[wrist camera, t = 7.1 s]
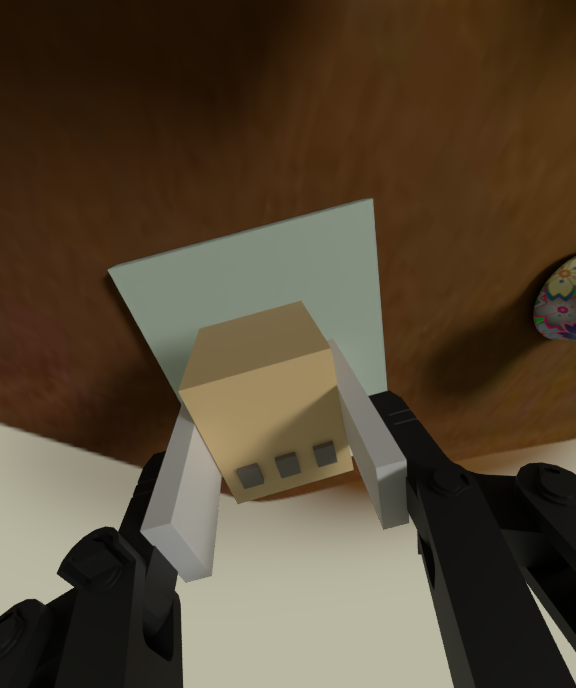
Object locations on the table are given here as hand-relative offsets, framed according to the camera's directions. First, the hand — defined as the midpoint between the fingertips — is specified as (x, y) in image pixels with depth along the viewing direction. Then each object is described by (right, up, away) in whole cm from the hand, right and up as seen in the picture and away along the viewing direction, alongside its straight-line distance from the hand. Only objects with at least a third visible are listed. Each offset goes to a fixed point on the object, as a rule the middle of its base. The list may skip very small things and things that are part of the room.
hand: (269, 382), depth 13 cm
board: (0, +1, +11) cm, 11 cm away
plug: (0, +1, +2) cm, 2 cm away
